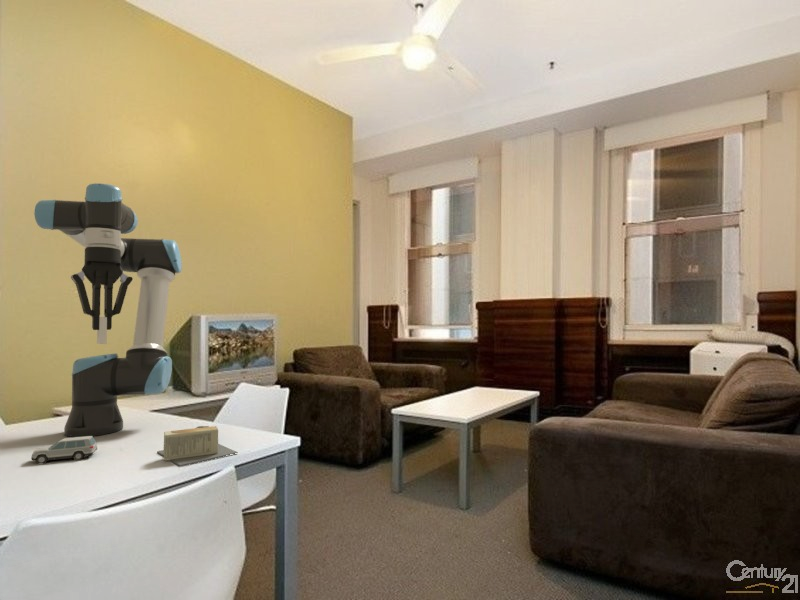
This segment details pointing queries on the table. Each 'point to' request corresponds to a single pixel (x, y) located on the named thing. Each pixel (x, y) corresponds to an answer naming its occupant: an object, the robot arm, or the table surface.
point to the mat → (191, 460)
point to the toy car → (66, 449)
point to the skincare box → (190, 442)
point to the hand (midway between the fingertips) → (101, 343)
